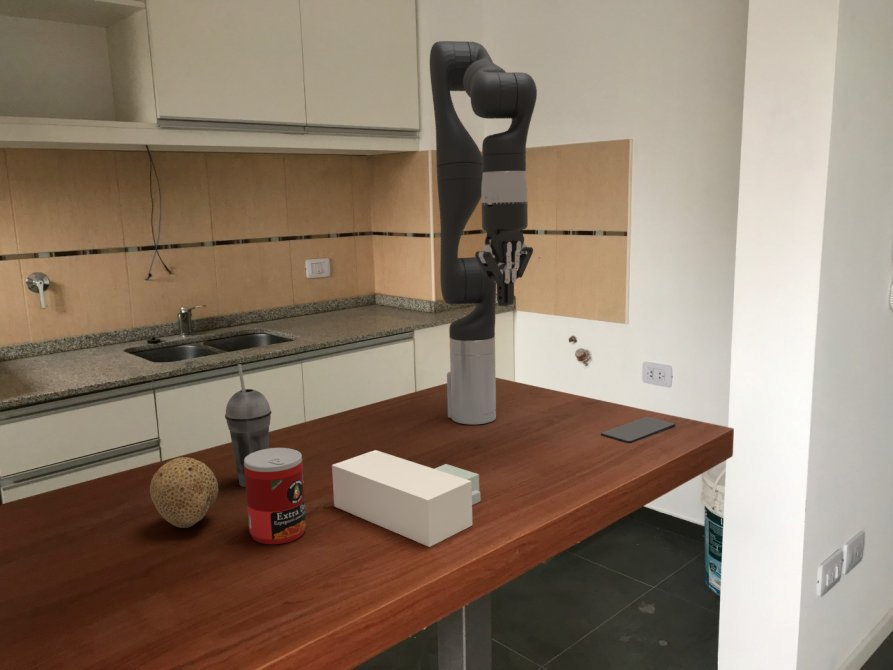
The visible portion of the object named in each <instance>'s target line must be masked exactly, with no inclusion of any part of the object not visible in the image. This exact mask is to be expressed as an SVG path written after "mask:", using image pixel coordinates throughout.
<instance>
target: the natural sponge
mask: <svg viewBox="0 0 893 670" xmlns="http://www.w3.org/2000/svg"><path fill="white" fill-rule="evenodd" d="M149 494H150V499H151V501H152V503H153V505H154V506H155V509H156V511H157V512H158V514H160V516H161V517H162V518H163V519H164V520H165V521H166V522H168V523H169V524H170V525H172V526H174V527H177V528H180V529H189V528H191V527H193V526H195V525H196V524H197V523H199V521H201V520H203V518H204V517H205V516H206V515H207V513H208V511H209V509H210V507H211V506H212V505H213V504H214V503H215V502H216V500H217V498H218V495H219V483H218V480H217V478H216V476H215V474H214V472H213V471H212V470H211V469H210V467H209V466H207V464H206V463H204V462H202V461H200V460H198V459H196V458H194V457H193V458H192V457H185V456H184V457H183V456H182V457H176V458H173V459H171V460H169V461H167V462H166V463H164V464H163V465H162V466H161V467H160V468H158V470H157V471H156V472H155V473H154V474H153V475H152V479H151V480H150V485H149Z"/></svg>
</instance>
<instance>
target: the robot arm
mask: <svg viewBox="0 0 893 670" xmlns="http://www.w3.org/2000/svg"><path fill="white" fill-rule="evenodd" d="M429 74H430V75H429V77H430V85H431V86H430V87H431V94H432V102H433V103H432V104H433V112H434V124H435V147H436V148H435V150H436V154H435V156H436V180H437V181H436V182H437V193H438V194H437V195H438V206H439V209H438V210H439V220H440V221H439V222H440V224H439V225H440V265H439V266H440V269H439V270H440V272H439V274H440V276H439V277H440V291H441V296H442V299H443V301H444V302H445V303H446V304H448V305H468V304H469V305H470V304H476V305H475V308H474V309H473V310H472V311H471V312H469V313H468V314H467V315H465V316H463V317H460V318H458V319H457V320H454V321H452V322H451V323H450V324H449V329H448V331H449V332H448V333H449V334H448V335H449V361H450V362H449V363H450V366H449V367H450V369H449V371H448V372H447V373H446V390H447V391H446V393H447V394H446V395H447V418H450V419H451V420H452V421H453V422H455V423H458V424H464V425H483V424H489V423H491V422H493V421H495V420H496V418H497V401H496V400H497V389H496V388H497V385H496V383H497V381H496V379H497V378H496V331H495V330H496V301H497V304H498V305H499V306H501V307H509V306H513V305H514V300H515V283H516V282H517V280H518V279H519V278H520V279H521V278H522V277H523V275H524V273H525V272H526V269H527V267H528V264H529V262H530V260H531V258H532V256H533V253H534V248H533V247H532V246H527V245H526V244H525V236H524V232H523V230H526V229H527V228H528V226H529V225H528V219H529V218H528V215H529V213H528V210H529V209H528V206H529V204H528V179H527V172H526V170H527V167H526V165H527V164H526V163H527V162H526V161H527V159H526V157H527V155H526V154H527V153H526V151H527V141H528V134H529V129H530V125H531V121H532V117H533V113H534V110H535V106H536V102H537V99H538V97H537V95H538V89H537V85H536V82H535V80H534V79H533V77H532V76H531V75H530V73H529V74H528V73H526V72H517V71H515V72H514V71H513V72H510V71H509V72H507V71H506V70H505V69H503V68H502V67H501V66H499V65H497V64H495V63H494V62H493V59H492V58H491V55H490V54H489V52H488V51H487V49H486V48H485V47H484V45H482V44H481V43H479V42H475V41H465V40H464V41H461V40H458V41H457V40H453V41H452V40H443V41H441V40H440V41H435V42H434V43H433V44H432V45H431V48H430V52H429ZM451 92H465V93H466V95H467V96H468V97H469V98H470V104H471V106H470V107H471V110H472V111H473V114H474V115H475V116H477V117H479V118H482V119H489V120H490V119H493V120H496V119H499V120H500V119H502V120H503V119H504V120H505V119H511V122H510V126H509V127H508V129H507V130H505V131H503V132H498V133H494V134H490V135H487V136H486V137H484V139H483V141H482V143H481V144H482V145H481V147H482V149H481V150H480V147H479V146H478V144H477V143H476V141H475V139H473V137H472V136H471V135H470V133H469V130H467V128H466V127H465V126H464V124H463V123H462V121H461V119H460V118H459V115H458V114H457V111H456V109H455V105H454V102H453V100H452V95H451ZM480 201H481V228H482V230H484V231H485V233H486V234H485V235H486V236H485V239H484V247H483V248H482V250H481V251H478V250H476V252H475V254H474V257H458V256H459V245H460V242H461V239H462V235H463V233H464V230H465V228H466V226H467V224H468V222H469V220H470V218H471V216H473V213H474V212H475V210H476V208H477V207H478V205H479V202H480Z"/></svg>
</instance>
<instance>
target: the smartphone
mask: <svg viewBox="0 0 893 670" xmlns="http://www.w3.org/2000/svg"><path fill="white" fill-rule="evenodd" d="M675 427H676V423H674V422H671V421H668V420H663V419H658V418H655V417H651V416H645V417H641V418H639V419H636V420H633V421H630V422H628V423H625V424H621V425H620V426H617V427H614V428H611V429H608V430H606V431H603V432H601V433H600V436H602V437H605V438H608V439H610V440H611V439H612V440H616V441H619V442H622V443H625V444H633V443H635V442H638V441H640V440H644V439H646V438H649V437H651V436H654V435H656V434H660V433H662V432H665V431H667V430H670V429H673V428H675Z"/></svg>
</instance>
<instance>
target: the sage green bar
mask: <svg viewBox="0 0 893 670" xmlns="http://www.w3.org/2000/svg"><path fill="white" fill-rule="evenodd" d="M434 469H436V470H439V471H442V472H445V473H448V474H451V475H454V476H457V477H461V478H464V479H467V480H470V481H472V491H475V490H477V491H480V474H479V473H476V472H473V471H469V470H466V469H463V468H459V467H457V466H453V465H450V464H448V463H445V464H442V465H440V466H438V467H435V468H434Z"/></svg>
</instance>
